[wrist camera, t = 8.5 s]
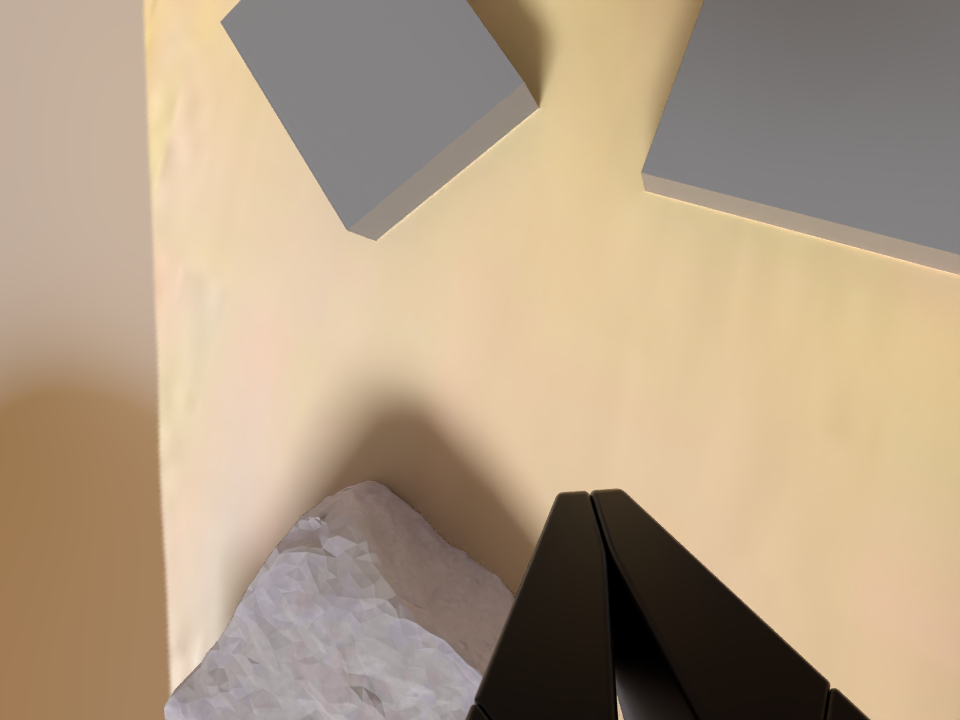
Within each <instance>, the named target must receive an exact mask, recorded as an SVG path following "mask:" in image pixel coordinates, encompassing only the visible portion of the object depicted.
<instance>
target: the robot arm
mask: <svg viewBox="0 0 960 720" xmlns="http://www.w3.org/2000/svg"><path fill="white" fill-rule="evenodd" d="M616 692H617V693H616ZM617 696H618V700H619V703H620V707H621V710H622V714H623V718H624V720H870V719H869V718H868V717H867V716H866V715H865V714H864V713H863V712H862V711H861V710H859V709H858V708H857V707H856V706H855V705H854V704H853V703H852V702H851V701H850V700H849V699H848V698H847V697H845V696H844V695H843V694H842V693H841V692H840V691H839V690H838V689H836V688H832V689H830V683H829V681H828V680H827V679H826V678H825V677H824V676H822V675H821V674H820V673H819V672H818V671H817V670H816V669H815V668H814V667H813V666H812V665H811V664H810V663H808V662H807V661H806V660H805V659H804V658H803V657H802V656H801V655H800V654H799V653H798V652H797V651H796V650H794V649H793V648H792V647H791V646H790V645H789V644H788V643H787V642H786V641H785V640H784V639H783V638H782V637H780V636H779V635H778V634H777V633H776V632H775V631H774V630H773V629H772V628H771V627H770V626H769V625H768V624H766V623H765V622H764V621H763V620H762V619H761V618H760V617H759V616H758V615H757V614H756V613H755V612H754V611H752V610H751V609H750V608H749V607H748V606H747V605H746V604H745V603H744V602H743V601H742V600H741V599H740V598H738V597H737V596H736V595H735V594H734V593H733V592H732V591H731V590H730V589H729V588H728V587H727V586H726V585H725V584H723V583H722V582H721V581H720V580H719V579H718V578H717V577H716V576H715V575H714V574H713V573H712V572H711V571H709V570H708V569H707V568H706V567H705V566H704V565H703V564H702V563H701V562H700V561H699V560H698V559H697V558H695V557H694V556H693V555H692V554H691V553H690V552H689V551H688V550H687V549H686V548H685V547H684V546H683V545H681V544H680V543H679V542H678V541H677V540H676V539H675V538H674V537H673V536H672V535H671V534H670V533H669V532H667V531H666V530H665V529H664V528H663V527H662V526H661V525H660V524H659V523H658V522H657V521H656V520H655V519H653V518H652V517H651V516H650V515H649V514H648V513H647V512H646V511H645V510H644V509H643V508H642V507H641V506H640V505H638V504H637V503H636V502H635V501H634V500H633V499H632V498H631V497H630V496H629V495H628V494H627V493H626V492H624V491H623V490H621V489H605V490H594V491H592V492H591V494H590V495H589V493H588V492H586V491H575V492H562V493H559V494H558V495H557V496H556V498H555V501H554V503H553V506H552V508H551V511H550V513H549V515H548V518H547V520H546V523H545V525H544V528H543V530H542V533H541V535H540V538H539V540H538V543H537V545H536V547H535V550H534V552H533V555H532V557H531V560H530V562H529V565H528V567H527V570H526V572H525V575H524V577H523V580H522V582H521V584H520V587H519V589H518V592H517V594H516V597H515V599H514V602H513V604H512V607H511V609H510V612H509V614H508V616H507V619H506V621H505V624H504V626H503V629H502V631H501V634H500V636H499V639H498V641H497V644H496V646H495V648H494V651H493V653H492V656H491V658H490V661H489V663H488V666H487V668H486V671H485V673H484V676H483V678H482V681H481V683H480V685H479V688H478V690H477V693H476V695H475V698H474V703H475V704H473V705H472V706H471V707H470V709H469V712H468V714H467V716H466V719H465V720H618V710H617Z"/></svg>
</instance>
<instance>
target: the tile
mask: <svg viewBox="0 0 960 720" xmlns="http://www.w3.org/2000/svg"><path fill="white" fill-rule="evenodd" d="M221 24H222V25H223V27H224V29H225V30H226V32H227V34H228V35H229V37H230V39H231V40H232V42H233V44H234V45H235V47H236V48H237V50H238V52H239V53H240V55H241V57H242V58H243V60H244V62H245V63H246V65H247V67H248V68H249V70H250V72H251V73H252V75H253V76H254V78H255V80H256V81H257V83H258V85H259V86H260V88H261V90H262V91H263V93H264V95H265V96H266V98H267V99H268V101H269V103H270V104H271V106H272V108H273V109H274V111H275V113H276V114H277V116H278V118H279V119H280V121H281V122H282V124H283V126H284V127H285V129H286V131H287V132H288V134H289V136H290V137H291V139H292V141H293V142H294V144H295V146H296V147H297V149H298V150H299V152H300V154H301V155H302V157H303V159H304V160H305V162H306V164H307V165H308V167H309V169H310V170H311V172H312V173H313V175H314V177H315V178H316V180H317V182H318V183H319V185H320V187H321V188H322V190H323V192H324V193H325V195H326V196H327V198H328V200H329V201H330V203H331V205H332V206H333V208H334V210H335V211H336V213H337V215H338V216H339V218H340V220H341V221H342V223H343V224H344V226H345V228H346V229H347V230H348V231H350V232H353V233H356V234H358V235H361V236H364V237H367V238H369V239H372V240H375V241H377V240H379V239H380V238H381V237H382V236H384V235H385V234H386V233H387V232H388V231H390V230H391V229H392V228H393V227H395V226H396V225H397V224H398V223H400V222H401V221H402V220H403V219H404V218H406V217H407V216H408V215H409V214H411V213H412V212H413V211H414V210H415V209H417V208H418V207H419V206H420V205H422V204H423V203H424V202H425V201H427V200H428V199H429V198H430V197H431V196H433V195H434V194H435V193H436V192H438V191H439V190H440V189H441V188H443V187H444V186H445V185H446V184H447V183H449V182H450V181H451V180H452V179H454V178H455V177H456V176H457V175H459V174H460V173H461V172H462V171H463V170H465V169H466V168H467V167H468V166H470V165H471V164H472V163H473V162H474V161H476V160H477V159H478V158H479V157H481V156H482V155H483V154H484V153H486V152H487V151H488V150H489V149H490V148H492V147H493V146H494V145H495V144H497V143H498V142H499V141H500V140H502V139H503V138H504V137H505V136H506V135H508V134H509V133H510V132H511V131H513V130H514V129H515V128H516V127H518V126H519V125H520V124H521V123H522V122H524V121H525V120H526V119H527V118H529V117H530V116H531V115H532V114H534V113H535V112H536V111H537V110H538V109H539V107H538V105H537V104H536V102H535V100H534V98H533V97H532V95H531V93H530V91H529V89H528V88H527V86H526V84H525V82H524V81H523V79H522V78H521V77H520V75H519V74H518V72H517V71H516V70H515V68H514V67H513V65H512V64H511V63H510V61H509V60H508V58H507V57H506V55H505V54H504V53H503V51H502V50H501V48H500V47H499V46H498V44H497V43H496V41H495V40H494V38H493V37H492V36H491V34H490V33H489V31H488V30H487V29H486V27H485V26H484V24H483V23H482V21H481V20H480V19H479V17H478V16H477V14H476V13H475V12H474V10H473V9H472V7H471V6H470V4H469V3H468V2H467V0H241V1H240V2H239V3H238V4H237V5H236V6H235V7H234V8H233V9H232V10H231V11H230V12H229V13H228V14H227V15H226V16H225V18H224V19H223V20H222V21H221Z"/></svg>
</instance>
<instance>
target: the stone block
mask: <svg viewBox="0 0 960 720" xmlns="http://www.w3.org/2000/svg"><path fill="white" fill-rule="evenodd" d="M514 599H515V597H514V596H513V594H512V592H511V591H510V590H509V589H508V588H507V587H506V586H505V584H504V583H503V582H502V580H501V579H500V578H499V577H498V576H497V575H495V574H493V573H491V572H490V571H489V570H487V569H486V568H484V567H483V566H481V565H480V564H478V563H477V562H475V561H474V560H473V559H471V558H470V557H469V556H468V554H467V553H466V552H465V551H462V550H460V549H458V548H455V547H453V546H451V545H449V544H448V543H447V542H446V541H445V540H444V539H443V538H442V537H441V536H440V535H439V534H437V533H436V531H435V530H434V528H433V527H432V526H431V524H430V523H428V522H427V521H426V520H425V519H424V517H423V516H422V515H421V514H420V513H419V512H417V511H416V510H415V509H413V508H412V507H411V506H410V505H409V504H407V503H406V502H405V501H403V500H402V499H401V498H400V497H398V496H397V495H395V494H394V493H393V492H392V491H391V490H390V489H389V488H388V487H387V486H385V485H383V484H381V483H379V482H376V481H368V480H366V481H363V482H360V483H358V484H356V485H351V486H348V487H345V488H344V489H342V490H340V491H338V492H337V493H335V494H334V495H332V496H326V497H325V498H324V499H323V500H322V501H321V502H320V503H319V504H318V505H316V506H315V507H313V508H312V509H310V510H309V511H308V512H306V513H305V514H303V515H302V517H301V518H300V519H299V521H298V522H297V523H296V524H295V525H294V527H293V528H292V529H291V530H290V532H289V533H288V534H287V535H286V536H285V537H284V539H283V540H282V541H281V542H280V543H279V544H278V546H277V547H276V548H275V549H274V550H273V552H272V553H271V554H270V555H269V557H268V558H267V560H266V561H265V563H264V564H263V566H262V567H261V569H260V570H259V572H258V574H257V575H256V577H255V578H254V580H253V581H252V582H251V584H250V585H249V587H248V588H247V590H246V592H245V593H244V595H243V597H242V598H241V600H240V602H239V603H238V605H237V608H236V610H235V612H234V615H233V617H232V619H231V621H230V622H229V624H228V626H227V628H226V629H225V631H224V632H223V634H222V635H221V637H220V638H219V640H218V641H217V642H216V644H215V645H214V646H213V647H212V648H211V649H210V650H209V652H208V653H207V654H206V655H205V657H204V659H203V661H202V662H201V663H200V664H199V665H198V666H197V667H196V668H195V669H194V670H193V672H192V673H191V674H190V675H189V676H188V677H187V678H186V679H185V680H184V681H183V682H182V683H181V684H180V685H179V686H178V687H177V688H176V689H175V690H174V692H173V694H172V695H171V697H170V698H169V700H168V701H167V703H166V704H165V706H164V712H165V719H166V720H465V719H466V716H467V714H468V712H469V709H470V707H471V706H472V705H473V704H475V703H474V698H475V695H476V693H477V690H478V688H479V685H480V683H481V681H482V678H483V676H484V673H485V671H486V668H487V666H488V663H489V661H490V658H491V656H492V653H493V651H494V648H495V646H496V644H497V641H498V639H499V636H500V634H501V631H502V629H503V626H504V624H505V621H506V619H507V616H508V614H509V612H510V609H511V607H512V604H513V602H514Z"/></svg>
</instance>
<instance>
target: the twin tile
mask: <svg viewBox="0 0 960 720" xmlns="http://www.w3.org/2000/svg"><path fill="white" fill-rule="evenodd" d="M641 174H642V179H643V184H644V189H645V192H649V193H653V194H656V195H660V196H664V197H668V198H671V199H675V200H679V201H682V202H686V203H690V204H694V205H697V206H701V207H705V208H709V209H712V210H716V211H720V212H723V213H727V214H731V215H735V216H738V217H742V218H746V219H750V220H753V221H757V222H761V223H764V224H768V225H772V226H776V227H779V228H783V229H787V230H791V231H794V232H798V233H802V234H806V235H809V236H813V237H817V238H820V239H824V240H828V241H832V242H835V243H839V244H843V245H847V246H850V247H854V248H858V249H861V250H865V251H869V252H873V253H876V254H880V255H884V256H888V257H891V258H895V259H899V260H903V261H906V262H910V263H914V264H917V265H921V266H925V267H929V268H932V269H936V270H940V271H944V272H947V273H951V274H955V275H958V276H960V0H704V3H703V5H702V8H701V11H700V14H699V16H698V19H697V22H696V25H695V27H694V30H693V33H692V35H691V38H690V41H689V44H688V46H687V49H686V52H685V54H684V57H683V60H682V63H681V65H680V68H679V71H678V74H677V76H676V79H675V82H674V84H673V87H672V90H671V93H670V95H669V98H668V101H667V104H666V106H665V109H664V112H663V114H662V117H661V120H660V123H659V125H658V128H657V131H656V134H655V136H654V139H653V142H652V144H651V147H650V150H649V153H648V155H647V158H646V161H645V164H644V166H643V169H642V172H641Z"/></svg>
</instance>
